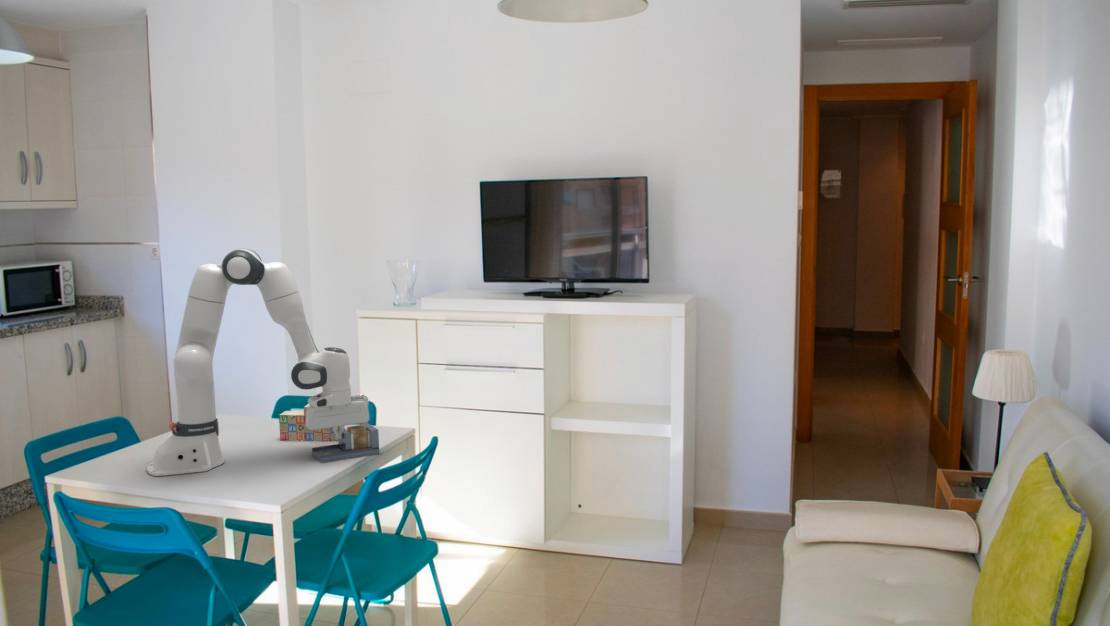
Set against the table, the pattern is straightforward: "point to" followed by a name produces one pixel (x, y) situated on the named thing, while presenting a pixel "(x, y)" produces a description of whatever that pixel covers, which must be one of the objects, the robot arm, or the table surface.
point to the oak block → (358, 436)
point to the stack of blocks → (302, 428)
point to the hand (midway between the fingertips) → (338, 439)
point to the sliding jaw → (346, 440)
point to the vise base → (337, 453)
